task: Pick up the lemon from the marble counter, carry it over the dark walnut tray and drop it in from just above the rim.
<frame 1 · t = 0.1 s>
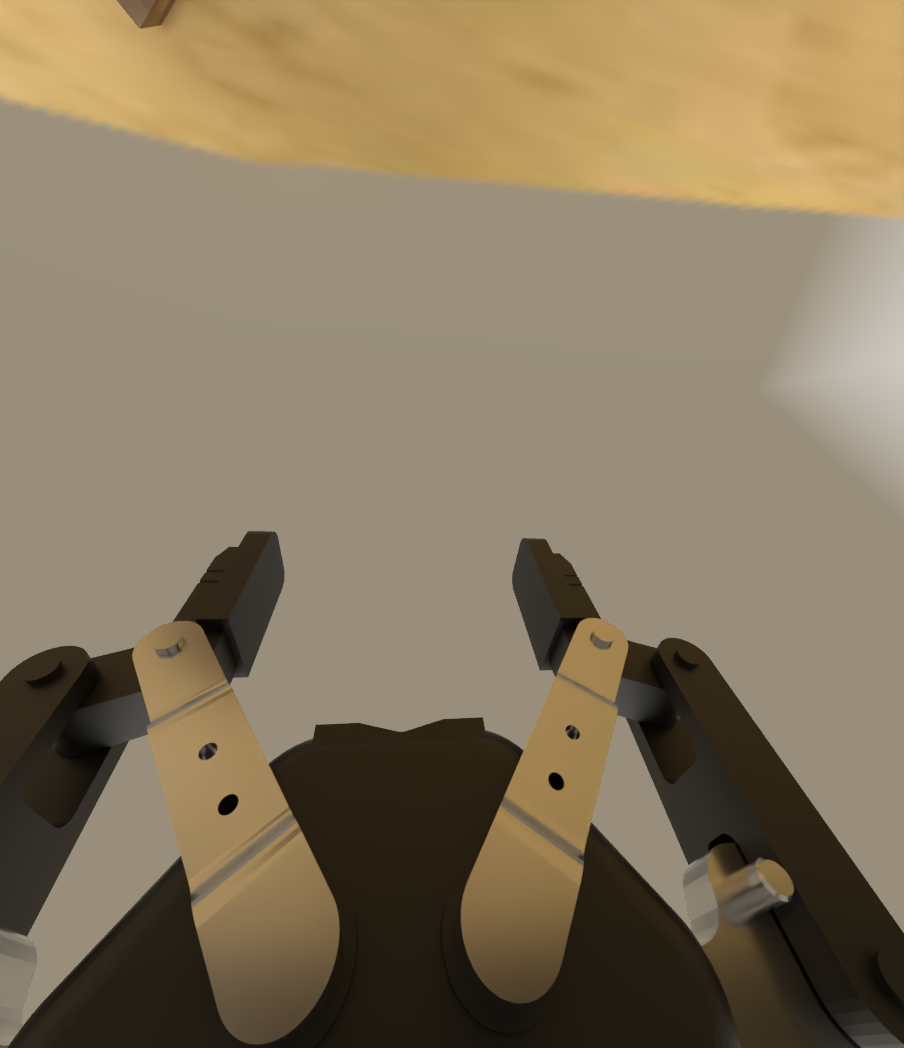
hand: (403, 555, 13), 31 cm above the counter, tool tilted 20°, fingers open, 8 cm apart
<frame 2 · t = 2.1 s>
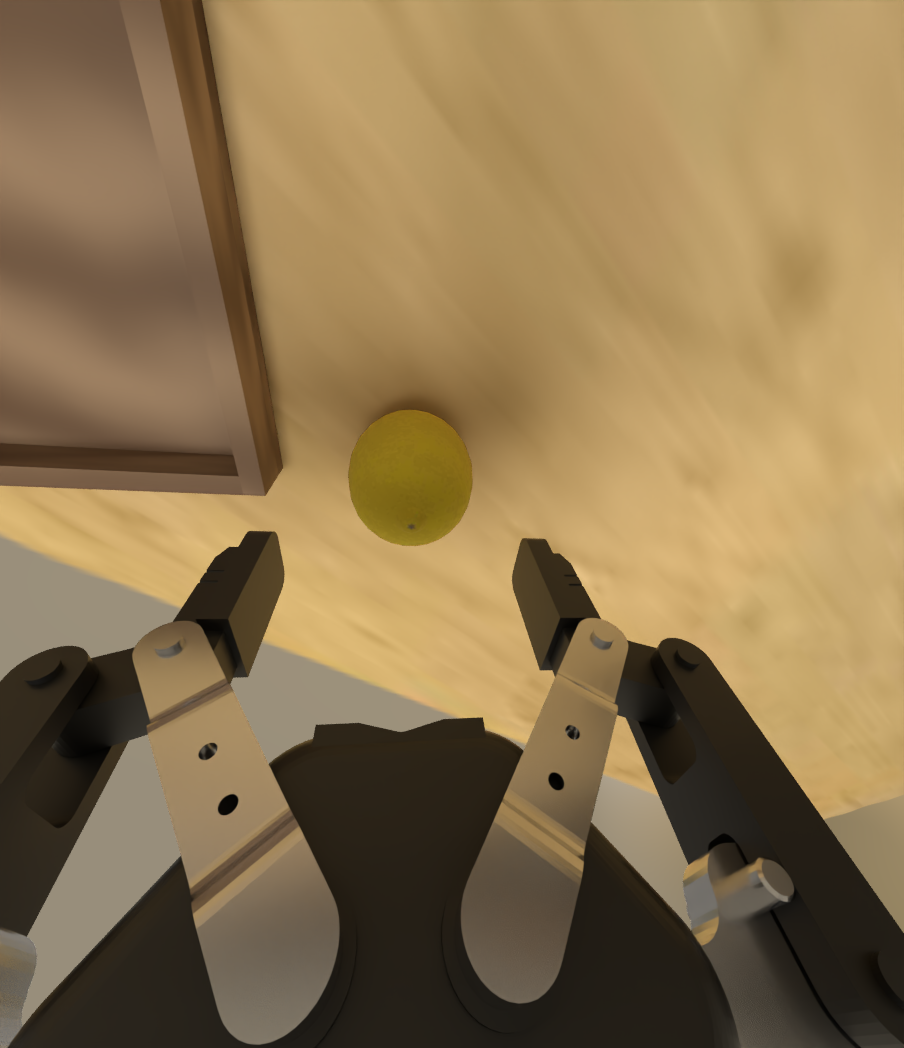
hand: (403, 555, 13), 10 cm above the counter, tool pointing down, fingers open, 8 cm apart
tray: (58, 250, 15), on the counter
lemon: (412, 439, 21), on the counter
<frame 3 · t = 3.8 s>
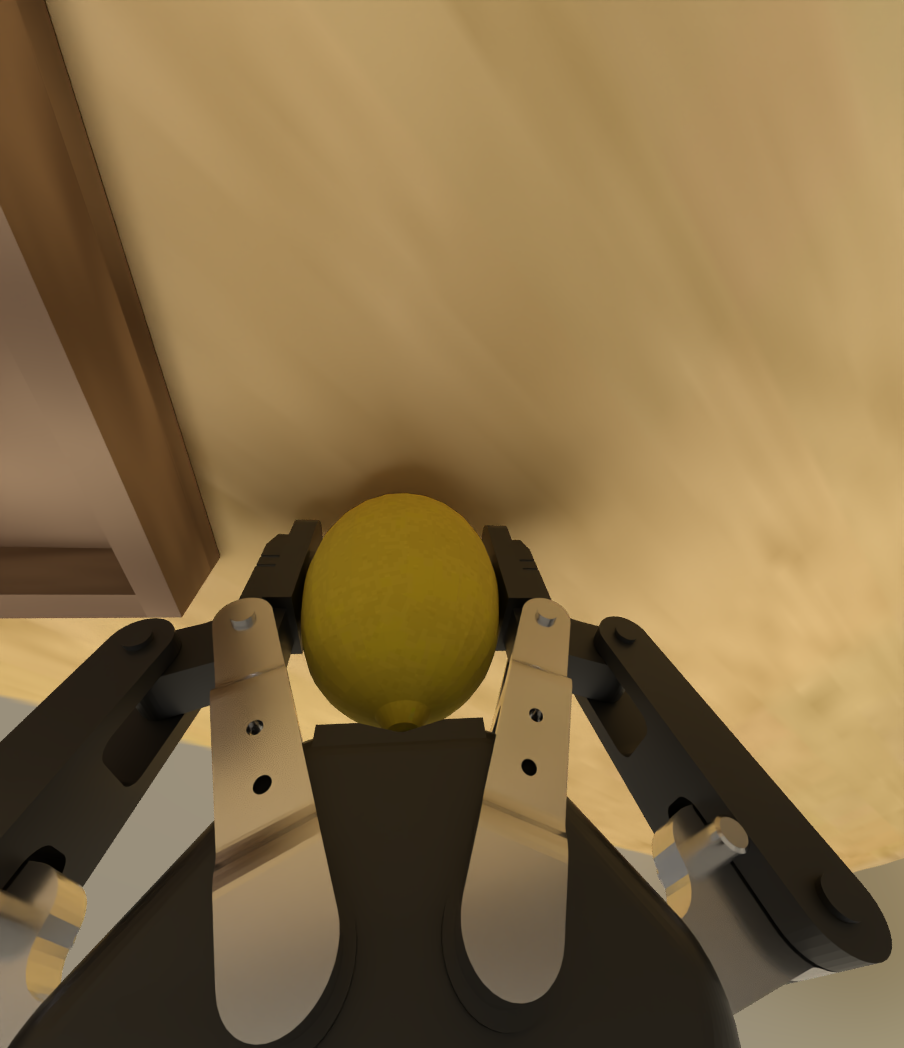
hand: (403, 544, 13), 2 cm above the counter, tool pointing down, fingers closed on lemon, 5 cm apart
lemon: (403, 517, 14), on the counter, touching gripper
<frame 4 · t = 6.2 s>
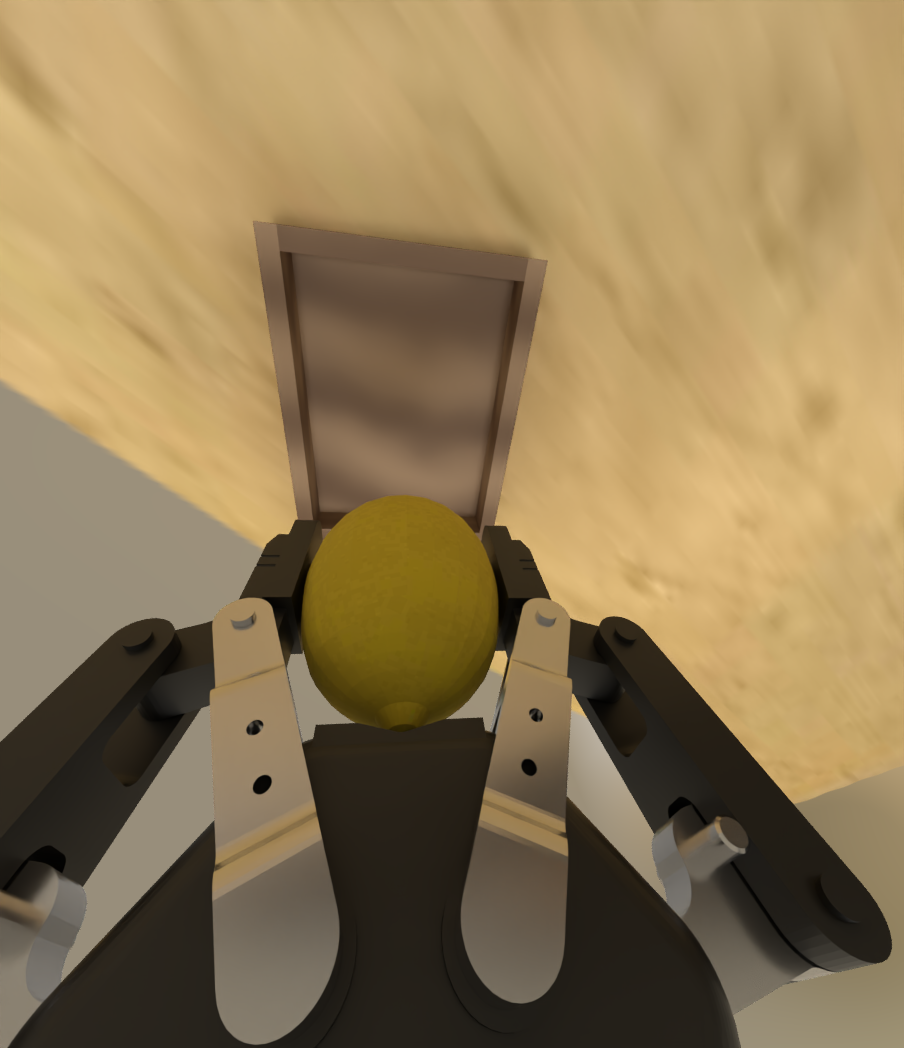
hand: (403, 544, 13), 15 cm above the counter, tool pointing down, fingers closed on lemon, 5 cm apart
tray: (403, 409, 25), on the counter
lemon: (403, 518, 15), point 13 cm above the counter, touching gripper
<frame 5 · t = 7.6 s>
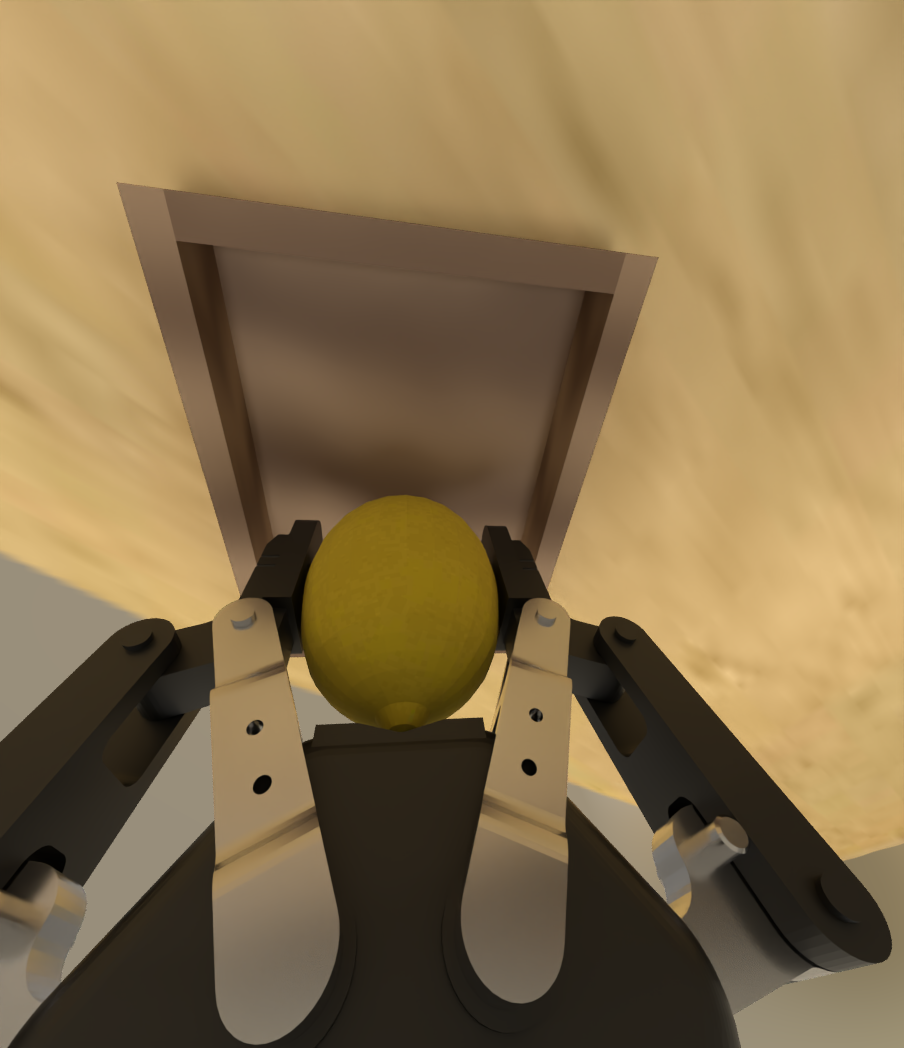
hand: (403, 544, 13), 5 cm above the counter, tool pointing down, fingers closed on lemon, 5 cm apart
tray: (404, 477, 17), on the counter
lemon: (403, 518, 15), point 3 cm above the counter, touching gripper
when the fingers open (4 cm above the counter, at t = 8.6 s): lemon drops 2 cm, resting on tray.
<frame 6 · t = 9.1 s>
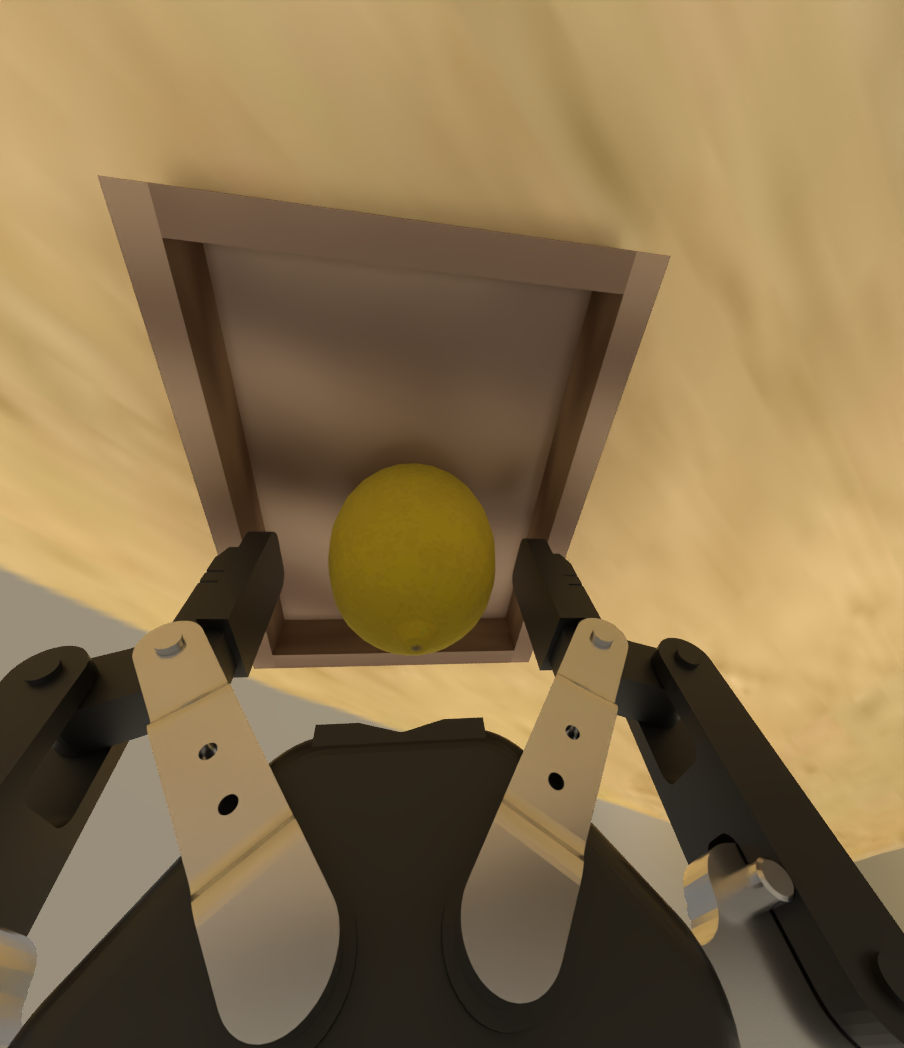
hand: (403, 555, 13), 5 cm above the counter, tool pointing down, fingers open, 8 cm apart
tray: (403, 483, 17), on the counter
lemon: (412, 490, 16), point 1 cm above the counter, touching tray
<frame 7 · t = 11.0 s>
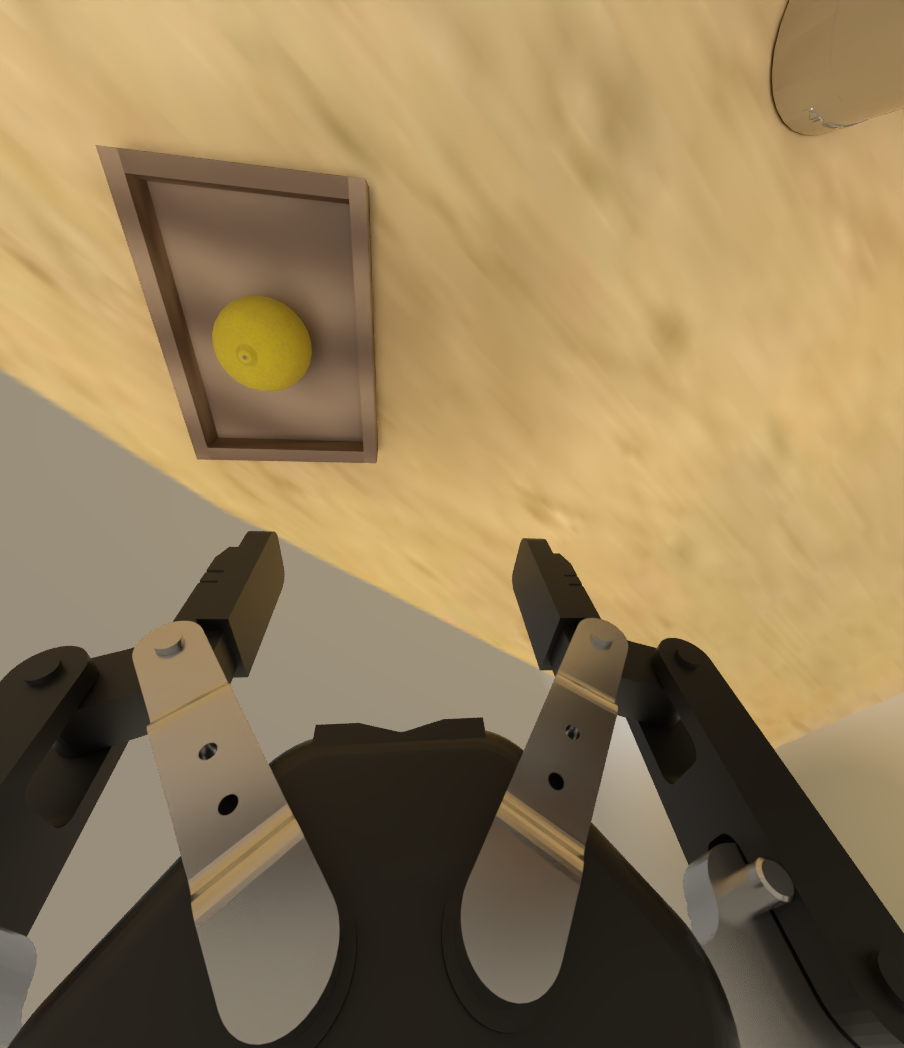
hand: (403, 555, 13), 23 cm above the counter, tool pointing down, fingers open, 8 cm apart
tray: (279, 334, 28), on the counter
lemon: (282, 335, 28), point 1 cm above the counter, touching tray
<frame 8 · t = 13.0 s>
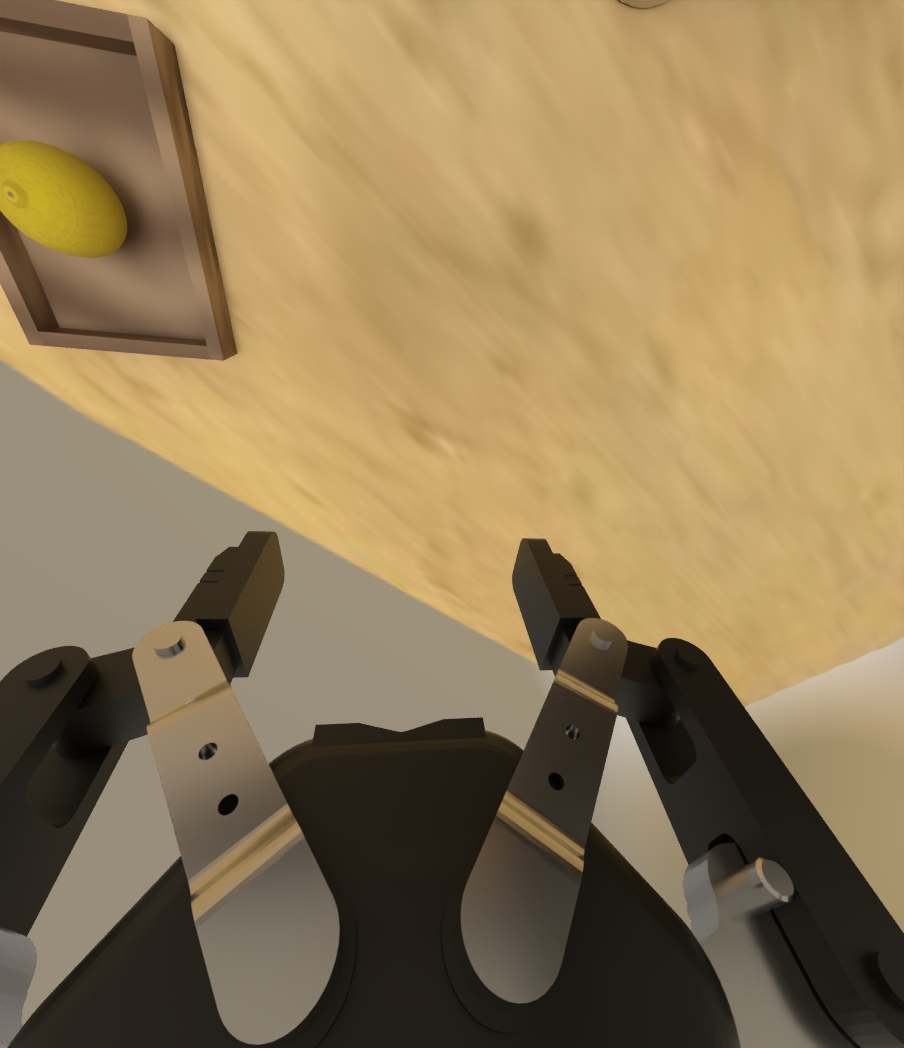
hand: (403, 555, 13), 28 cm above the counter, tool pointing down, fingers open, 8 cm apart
tray: (108, 212, 27), on the counter
lemon: (108, 212, 27), point 1 cm above the counter, touching tray
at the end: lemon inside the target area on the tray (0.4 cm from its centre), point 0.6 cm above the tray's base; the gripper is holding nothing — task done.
